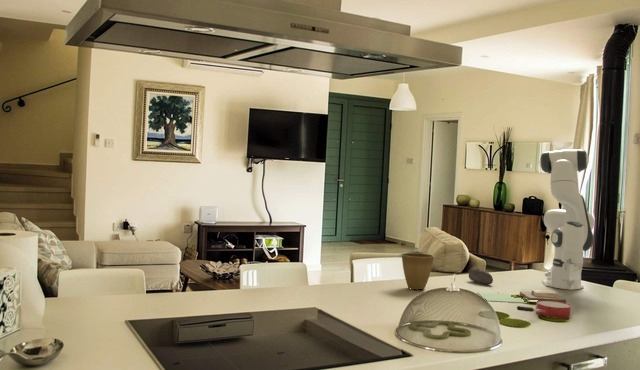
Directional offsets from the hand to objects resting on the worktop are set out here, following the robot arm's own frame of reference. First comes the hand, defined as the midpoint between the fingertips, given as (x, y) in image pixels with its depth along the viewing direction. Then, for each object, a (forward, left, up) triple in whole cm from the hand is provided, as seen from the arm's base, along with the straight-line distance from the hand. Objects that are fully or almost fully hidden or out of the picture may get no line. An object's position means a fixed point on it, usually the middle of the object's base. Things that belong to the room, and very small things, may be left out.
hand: (570, 289), depth 277 cm
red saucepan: (+35, -23, -6) cm, 43 cm away
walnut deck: (0, -12, -6) cm, 13 cm away
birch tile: (0, -11, -4) cm, 11 cm away
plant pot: (-11, -67, -6) cm, 68 cm away
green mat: (0, -30, -6) cm, 30 cm away
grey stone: (-35, -31, -6) cm, 47 cm away
